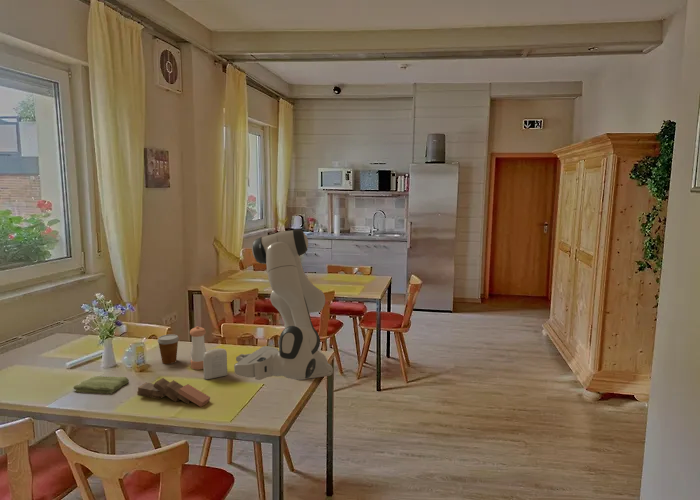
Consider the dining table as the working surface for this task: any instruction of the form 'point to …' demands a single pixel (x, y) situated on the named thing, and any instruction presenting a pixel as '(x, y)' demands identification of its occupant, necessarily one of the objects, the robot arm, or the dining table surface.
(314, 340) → the robot arm
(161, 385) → the walnut domino
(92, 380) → the washcloth
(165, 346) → the disposable coffee cup
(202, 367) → the pepper shaker
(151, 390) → the walnut domino
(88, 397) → the dining table surface
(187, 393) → the terracotta domino
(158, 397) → the walnut domino
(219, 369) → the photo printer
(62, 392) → the dining table surface
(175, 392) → the walnut domino
